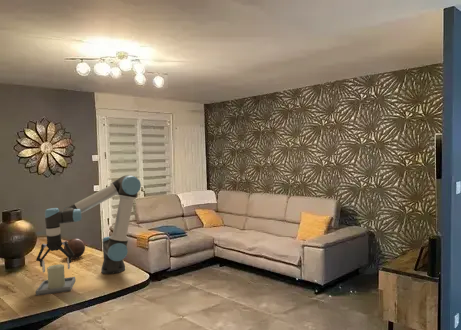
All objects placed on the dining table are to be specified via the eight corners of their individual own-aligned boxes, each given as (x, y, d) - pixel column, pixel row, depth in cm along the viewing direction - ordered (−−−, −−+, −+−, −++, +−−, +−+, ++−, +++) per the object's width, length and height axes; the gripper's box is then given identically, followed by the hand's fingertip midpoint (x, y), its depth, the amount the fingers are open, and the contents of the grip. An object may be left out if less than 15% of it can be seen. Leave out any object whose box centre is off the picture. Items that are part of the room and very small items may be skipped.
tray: (75, 280, 223) (75, 276, 223) (70, 291, 205) (70, 286, 205) (43, 284, 218) (43, 280, 218) (36, 295, 200) (35, 291, 200)
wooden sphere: (89, 256, 276) (88, 237, 275) (71, 262, 263) (70, 242, 263) (77, 254, 284) (76, 235, 283) (59, 259, 271) (58, 240, 271)
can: (48, 290, 205) (46, 269, 205) (47, 285, 214) (46, 265, 213) (65, 286, 210) (64, 266, 209) (64, 282, 218) (63, 262, 217)
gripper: (77, 230, 218) (80, 265, 218) (31, 235, 211) (34, 271, 212) (75, 233, 210) (78, 269, 211) (28, 238, 204) (31, 275, 205)
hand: (56, 270), depth 211 cm, fingers open, 13 cm apart
